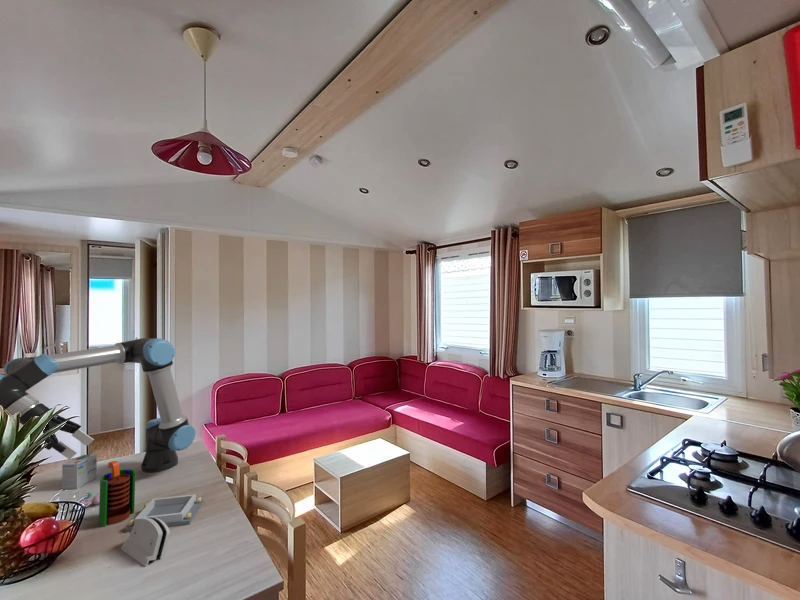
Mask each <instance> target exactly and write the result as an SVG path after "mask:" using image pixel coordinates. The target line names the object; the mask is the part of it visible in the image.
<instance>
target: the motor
mask: <svg viewBox="0 0 800 600" xmlns="http://www.w3.org/2000/svg"><path fill="white" fill-rule="evenodd" d="M107 464H108V465H107V467H108V469H111V471H110V472H108V473H106V474H103V475H102V476H101V477H100V479H99V493H100V500H99V504H98V505H99V507H98V525H99V526H100V527H102V528H103V527H105V528H106V526H108V525H115V524H119V523H122V522H124V521H127V519H128V518H130V515H131V514H133V515H134V513H135V499H136V498H135V495H136V493H135V492H136V470H135V469H133V468H123V469H120V463H119V461H117V460H112V461H110V462H108V463H107Z"/></svg>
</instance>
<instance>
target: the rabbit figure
mask: <svg viewBox="0 0 800 600" xmlns="http://www.w3.org/2000/svg"><path fill="white" fill-rule="evenodd" d="M86 494H87V495H86V496H85V497H83V499H82V500H81V501H79V502H80V503H83V504H84V505H85V507H84V508H87V507H89V506H90V505H91V504H93V505H96V506H98V505H99V500H100V492H99V493H97V494H95V495H94V496H93V492H91V491H89V492H87V493H86ZM92 496H93V498H92V499H91V500H89V499H90V498H91V497H92ZM97 504H98V505H97Z"/></svg>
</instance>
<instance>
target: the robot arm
mask: <svg viewBox="0 0 800 600" xmlns="http://www.w3.org/2000/svg"><path fill="white" fill-rule="evenodd" d="M175 353H176V351H175V347H174V345H173V344H172V343H171V342H170V341H168V340H166V339H164V338H157V337H156V338H152V337H151V338H148V337H144V338H143V337H142V338H137V339H132V340H127V341H122V342H116V343H115V344H114V345H110V346H102V347H95V348H90V349H80V350H75V351H68V352H62V353H61V352H60V353H59V352H58V353H53V354H46V353H42V354H39V355H37V356H32V357H26V358H25V357H18V358H14V359H11V360H9V361H8V362H6V364H5V365H4V367H3V372H4V375H3V374H1V373H0V405H2V406H3V407H4V408H5V409H6V410H7V411H8V412H9V413H10V414H11V415H14V414H15V413H17V412H20V413H21V417H20V422H19V423H20V424H21V425H23V426H24V424H25V423H26V422H27V421H28V420H29V419H30V418H31V417H33V416H40V415H42V414H43V413H44V412H46V411H47V410H49V411H51V410H50V408H49V407H48V406H46V405H45V404H44V403H40V400H38V399H37V398H36V397H34V396H33V395H31V394H29V393H28V392H27V391H28V390H30V389H31V388H33V387H34V386H36V385H37V384H39V383H41V382H42V381H43V380H45V379H46V378H47V377H49V376H51V375H53V374H57V373H64V372H69V371H74V370H76V371H77V370H81V369H86V368H91V367H98V366H104V365H109V364H115V363H117V364H118V365H122V364H129V363H130V364H133V363H134V364H135V363H136V364H140V365H141V369H142V372H143V373H145V374H147V375H148V378H149V382H150V385H151V389H152V392H153V396H154V400H155V403H156V407H157V411H158V415H159V417H158V418H154V419H151V420H150V419H149V421H147V422H146V425H145V454H144V457H143V459H142V462H141V464H140V466H141V467H140V470H142V472H143V473H156V471H157V472H161V470H162V471H165V470H164V469H166V470H169V469H171V468H174V467H175V466H176V465H177V464H179V456H178V454H177V451H178V452H181V451H184V450H185V449H187V448H189V447H190V446H191V445H192V444H193V441H195V438H196V435H197V433H196V428H195V427H194V426H193V425H190V424H189V418H188V417H187V415H185V414H183V412H182V409H181V404H180V401H179V400H180V399H179V397H178V393H177V390H176V385H175V381H174V377H173V374H172V369H171V368H172V366H173V365H174V362H173V360H174V357H175ZM67 419H68V418H65V417H63V416H62V415H61V416H60V415H59V414H58V415H56V416H55V417H53V418H52V419H51V420H50V421H49V422H48V424H47V425H46V427H45V429H44V430H43V433H45V432H46V431H47V430H49V429H50V428H52V427H54V426H56V425H57V424H60V423H61V422H63V421H65V420H67ZM81 428H82V425H80V424H78V423H76V422H74V421H71V420H70V419H68V421H67V422H66V424H65V425H64V426H63V427H62V428H61V429H60V430H59V431H60V432H61V431H62V432H65V433H67V434H71V436H72V437H73V438H75V439H76V440H78V441H79V442H80V443H82V444H83V445H85V446H86V447H87V446H89V445H90V444H91V443H92V442H93V441H94V440H95V439H94V438H93V437H91V436H90V435H88V434H87V433H86V432H84V431H83V430H81ZM49 442H51V443H49ZM45 443H46V444H47V443H49V444H48V445H47V446H46V447H45V448H44V449H46V450H47V451H50V450H51V449H54V450H55V451H57V453H59V454H61V455H62V456H63V457H65V458H66V459H68V461H71V460H72V459H73V457H75V455H76V454H78V451H76V450H75V449H74V448H72V447H71V446H69V444H66V443H65V442H64V441H63V440H59V439H58V437H57V435H56V434H55V432H54V434H53V435H51V436H50V437H48V438H47V439H46V440H45ZM174 465H175V466H174ZM170 467H171V468H170ZM168 468H169V469H168Z"/></svg>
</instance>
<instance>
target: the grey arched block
mask: <svg viewBox="0 0 800 600" xmlns="http://www.w3.org/2000/svg"><path fill="white" fill-rule="evenodd" d="M170 536H171V531H170V527H168V526H167V525H166V524H165V523H164V522H163V521H162V520H160V519H158V518H153V517H148V518H141V519H138V520H136V522H135V524H134V526H133V529H132V531H131V532H129V536H128V538H127V539H126V540H125V541H123V543H122V545H121V548H120V549H121V550H122V551H123V552H125V553H126V554H128V555H129V556H130V557H131V558H132V559H134V560H136V561H137V562H138V563H140V564H141V565H142V566H144V567H148V565H149V562H150V561H156V560H157V559H158V558H159V559H160V560H161V559H164V557H165V554H166V551H167V547H168V543H169V540H170Z"/></svg>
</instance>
